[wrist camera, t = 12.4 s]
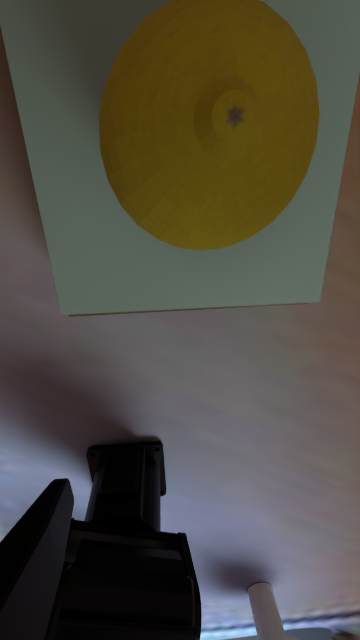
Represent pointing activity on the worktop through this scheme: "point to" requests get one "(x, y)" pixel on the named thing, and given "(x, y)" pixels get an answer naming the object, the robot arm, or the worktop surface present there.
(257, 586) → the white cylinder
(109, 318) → the worktop surface
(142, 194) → the lemon
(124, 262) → the lid
